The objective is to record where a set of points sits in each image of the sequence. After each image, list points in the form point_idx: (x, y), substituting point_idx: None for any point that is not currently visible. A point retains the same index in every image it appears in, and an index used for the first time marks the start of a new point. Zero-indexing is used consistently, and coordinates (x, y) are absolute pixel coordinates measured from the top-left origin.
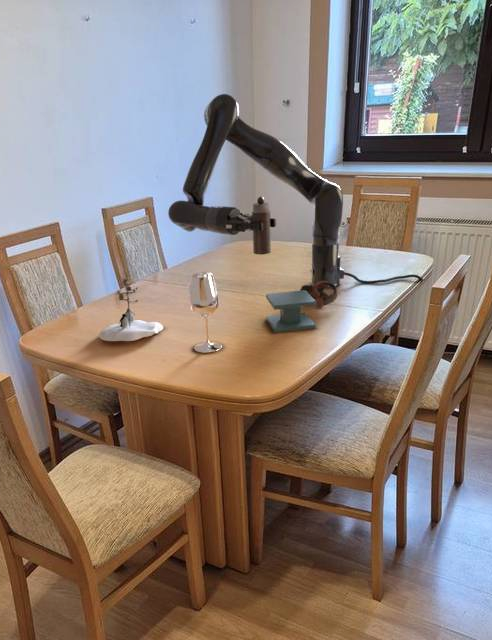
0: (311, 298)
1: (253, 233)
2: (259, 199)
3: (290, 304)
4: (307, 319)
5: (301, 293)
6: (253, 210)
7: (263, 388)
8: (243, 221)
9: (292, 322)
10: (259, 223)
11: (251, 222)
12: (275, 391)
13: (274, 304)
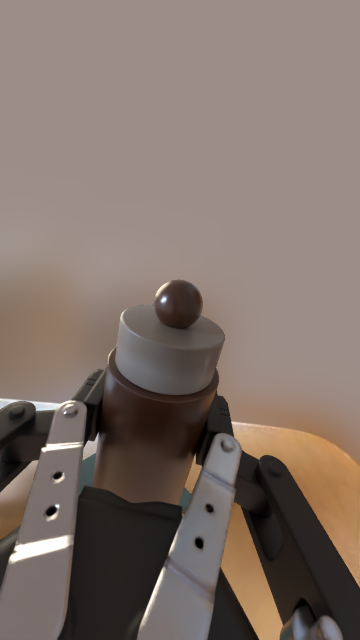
0: None
1: (186, 478)
2: (200, 297)
3: None
4: None
5: (83, 476)
6: (209, 377)
7: (322, 449)
8: (271, 464)
9: None
10: (215, 394)
11: (220, 434)
12: (314, 436)
13: (186, 502)
